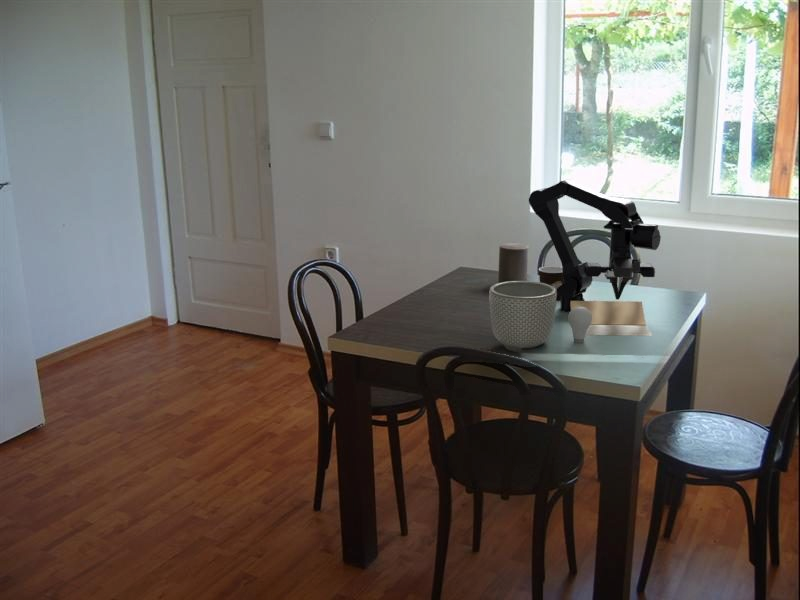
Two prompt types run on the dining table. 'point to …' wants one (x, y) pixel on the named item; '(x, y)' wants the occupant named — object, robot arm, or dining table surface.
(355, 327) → the dining table surface
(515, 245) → the pillar candle
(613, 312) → the oak plank
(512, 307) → the planter
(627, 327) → the board
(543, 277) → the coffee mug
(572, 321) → the lightbulb
